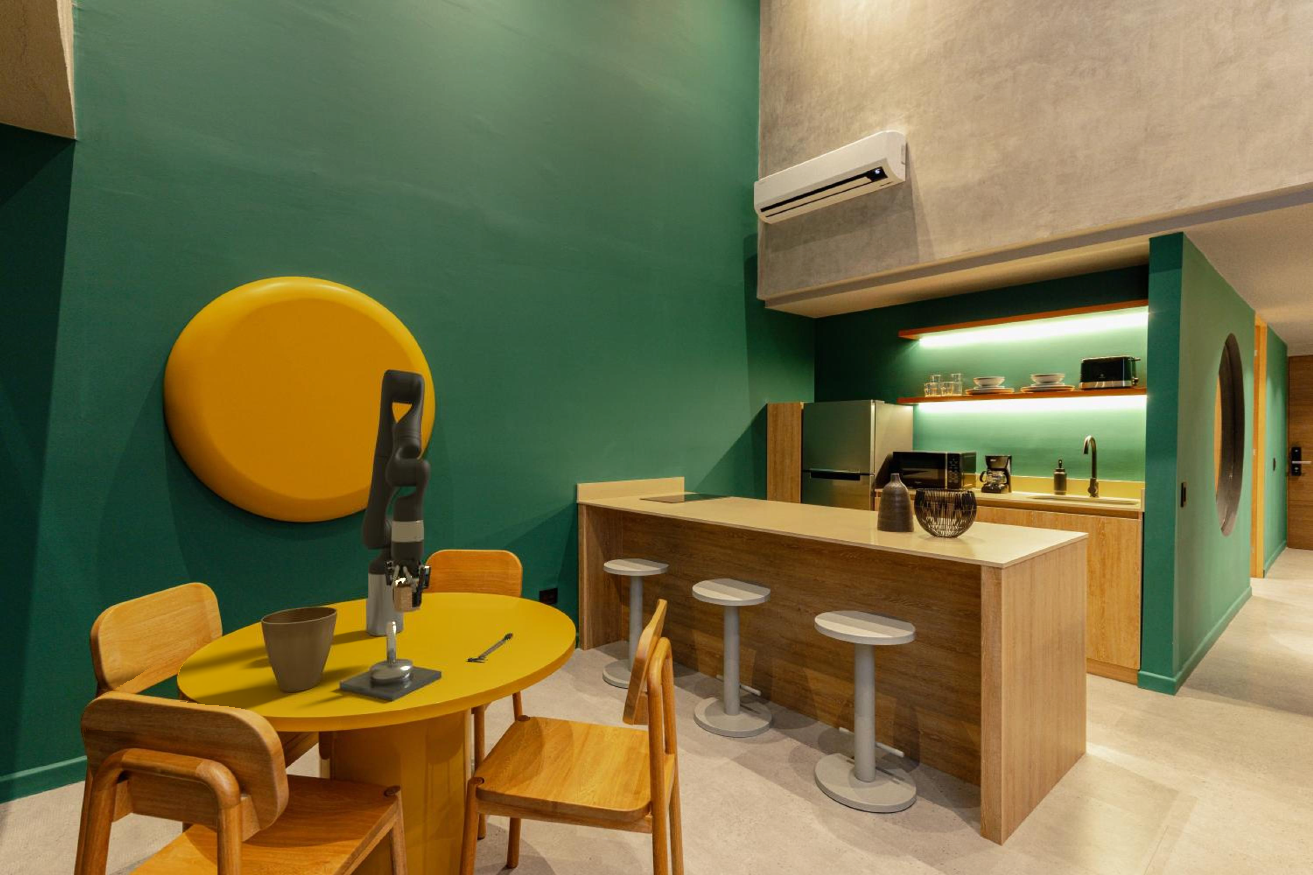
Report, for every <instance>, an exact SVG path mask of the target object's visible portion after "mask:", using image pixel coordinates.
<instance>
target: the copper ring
mask: <svg viewBox="0 0 1313 875" xmlns="http://www.w3.org/2000/svg"><path fill="white" fill-rule="evenodd" d="M416 586H417V587H418V585H417V583H416ZM412 593H413V590H412V587H411V585H410V584H409V583H408V582H403V583H400V584H397V585H395V586H394V612H400V613H403V614H404V613H412V612H416V611H419V610H421V609H420V608H421V605H420V606H418V607H413V606H412Z"/></svg>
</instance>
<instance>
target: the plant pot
mask: <svg viewBox="0 0 1313 875" xmlns="http://www.w3.org/2000/svg"><path fill="white" fill-rule="evenodd" d="M337 618H338V608H335V607H331V606H309V607H307V606H306V607H297V608H290V609H284V610H279V611H276V612H272V613H270V614H267V615H265V616H263V617H262V618H261V619H260V622H261V623H260V625H261V630H262V636H263V640H264V646H265V651H266V654H267V659H268V661H269V664H270V667H271V670H272V672H273V675H274V678H275V680H276V683H277V684H278V686H279V688H280V690H281V691H282V692H284V691H285V693H295V692H297V693H298V692H302V691H303V692H304V691H306V690H310V689H312V688H314V687H316V686H317V685H319V682H320V681H321V678H322V676H323V672H324V670H325V668H326V664H327V661H328V658H329V655H330V652H331V647H332V644H333V643H332V642H333V639H334V634H335V629H336V623H337Z"/></svg>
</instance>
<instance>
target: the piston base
mask: <svg viewBox="0 0 1313 875" xmlns="http://www.w3.org/2000/svg"><path fill="white" fill-rule="evenodd" d="M385 636H386V660H381V661H378V662H376V663H373V664H372V665H371V666H370V667H369V670H366V671H363V672H362V673H360V674H356V675H355V676H352V677H349V678H347V679H345V680H342V681H340V682H339V685H338V686H339V690H341V691H346V692H350V693H355V694H359V695H363V696H368V697H372V698H377V699H381V700H384V701H385V700H387V701H390V702H394V701H396V700H398V699H401V698H403V697H404V696H407V695H408V694H411V693H413V692H416V691H417V690H419V689H421V688H424V687H425V686H428V685H429V684H432V683H434V682H436V681H439V680H441V679H442V677H443V676H442V673H443V672H442V671H441V670H436V669H430V668H427V667H426V668H424V667H420V666H415V665H414V662H413V660H411V659H407V658H397V633H396V623H395V622H394V621H389V622H388V623H387V625H386V635H385Z"/></svg>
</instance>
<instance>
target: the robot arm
mask: <svg viewBox="0 0 1313 875" xmlns="http://www.w3.org/2000/svg"><path fill="white" fill-rule="evenodd" d="M425 381H426V380H425V378H424V376H423V375H422V373H421V374H420V373H417V372H412V371H406V370H398V369H393V368H392V369H386V370H385V372H384V373H383V375H382V381H381V387H380V403H379V404H380V406H379V420H378V427H377V435H376V442H375V447H374V448H375V449H374V454H373V460H372V461H373V462H372V474H371V479H370V480H371V481H370V488H369V493H368V498H367V503H366V507H365V511H364V512H365V513H364V516H363V521H362V526H361V540H362V544H363V545H364V547H365V548H366V549H367V550H369V551H376V550H381V551H380V553H379V554H378V555H377V557H375V558H374V559H373V560H371V561H370V562H369V564H368V567H367V571H368V572H367V573H368V583H367V584H368V585H367V586H368V598H366V600H365V608H366V609H365V615H366V616H365V618H366V619H365V623H366V624H365V626H366V628H365V630H366V631H365V632H366V633H368V634H369V635H370V636H381V637H382V636H386V625H387V623H388V622H389V621H394V622H395V623H396V634H398V633H400V632H402V631H403V630H404V613H400V612H394V586H395V585H397V584H400V583H405V581H407V583H409V584H410V585H411V587H412V590H413V593H412V606H413V607H418V606H420V607H421V604H422V602H423V591H424V590H428V589H429V588H430V581H431V573H432V566H431V565H424V564H423V563H422V560H421V559H422V557H423V556H424V554H425V553H424V551H425V550H424V549H425V548H424V547H425V546H424V543H425V541H424V540H425V528H424V527H425V526H424V501H425V500H424V498H425V494H426V490H427V487H428V484H429V480H430V478H431V474H432V468H431V467H432V466H431V464H430V462H429V461H428V460H427V459H425V458H419V457H420V456H421V455H422V452H423V443H422V442H423V441H422V423H423V421H422V420H423V416H424V404H425V393H426V384H425ZM393 403H394V404H402V405H409V406H410V408H409V409H408V410H407V412H406V413H405V414H403V415H402V416H401V418H400V419H399V420H398V421H396V418H395V414H394V408H393ZM403 487H404V488H409V487H410V488H411V487H412V488H413V487H415V488H414V490H413V492H411V493H409V494H406V495H401V496H397V497H396V498H395V499H393V497H394V495H395V494H396V492H397V490H399V488H403ZM392 499H393V503H392V514H388V510H389V506H390V503H391V501H392ZM416 583H417V585H418V587H417V586H416Z"/></svg>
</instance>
